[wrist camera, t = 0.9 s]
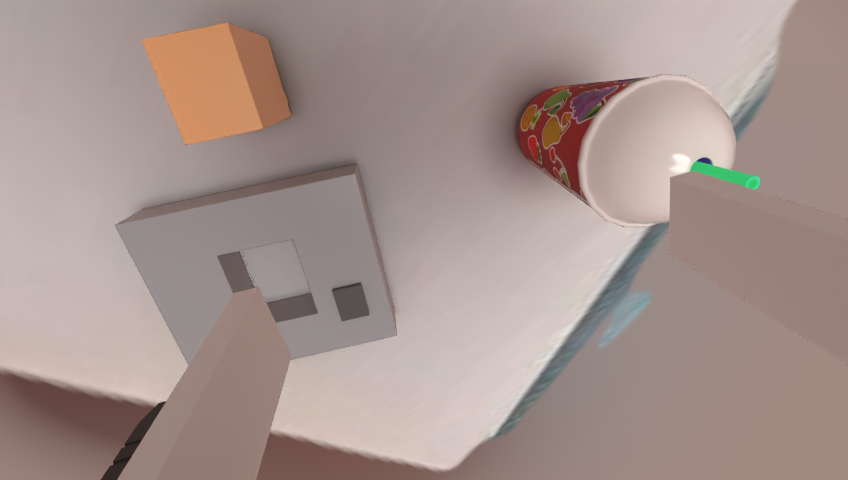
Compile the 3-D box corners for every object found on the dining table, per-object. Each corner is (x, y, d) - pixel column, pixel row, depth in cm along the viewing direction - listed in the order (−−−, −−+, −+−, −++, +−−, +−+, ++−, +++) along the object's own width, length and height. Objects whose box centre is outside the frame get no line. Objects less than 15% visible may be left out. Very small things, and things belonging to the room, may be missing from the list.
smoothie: (551, 193, 37) (728, 307, 19) (484, 137, 34) (613, 206, 16) (616, 118, 35) (885, 162, 17) (551, 53, 32) (785, 20, 14)
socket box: (143, 209, 33) (110, 227, 29) (356, 163, 34) (354, 175, 30) (213, 352, 39) (194, 385, 35) (394, 311, 40) (397, 338, 36)
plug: (213, 51, 30) (141, 39, 20) (272, 40, 30) (227, 22, 21) (239, 125, 32) (185, 145, 22) (294, 114, 32) (263, 129, 23)
